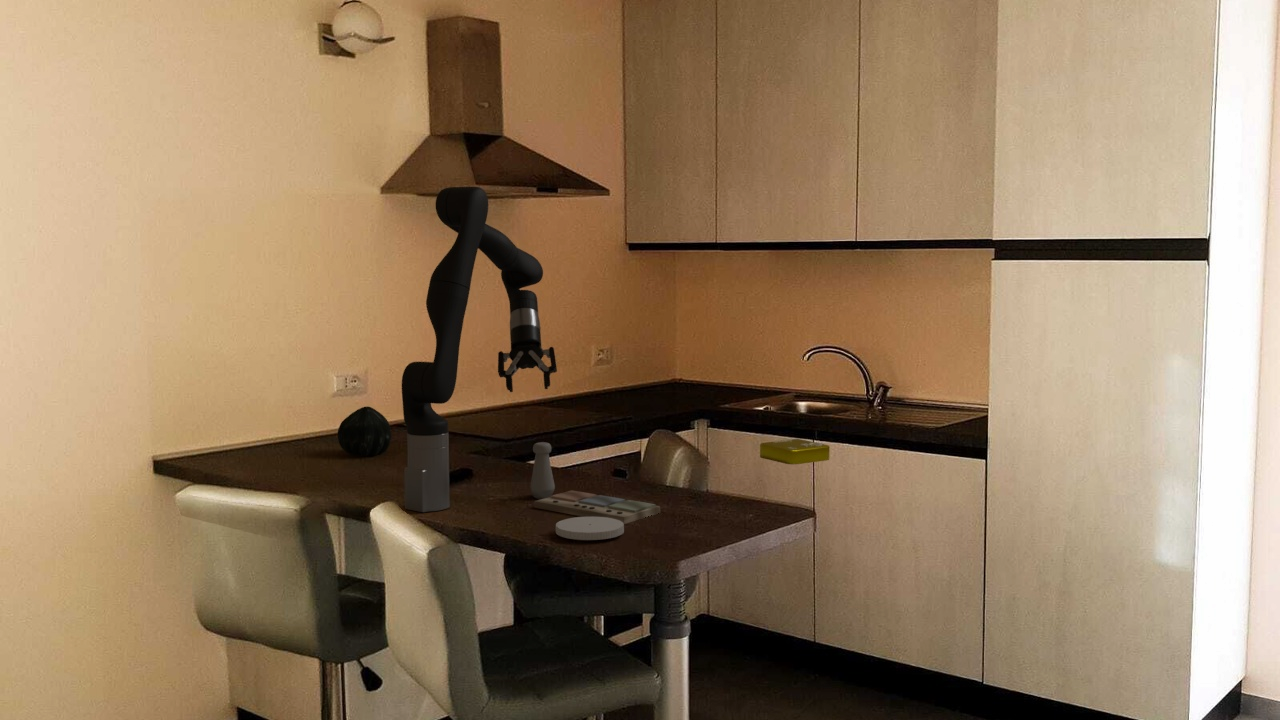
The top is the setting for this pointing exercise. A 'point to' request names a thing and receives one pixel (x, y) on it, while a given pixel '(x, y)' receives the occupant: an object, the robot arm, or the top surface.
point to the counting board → (597, 506)
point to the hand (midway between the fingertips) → (528, 389)
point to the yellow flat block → (794, 451)
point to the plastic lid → (589, 528)
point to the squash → (365, 432)
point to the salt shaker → (542, 472)
